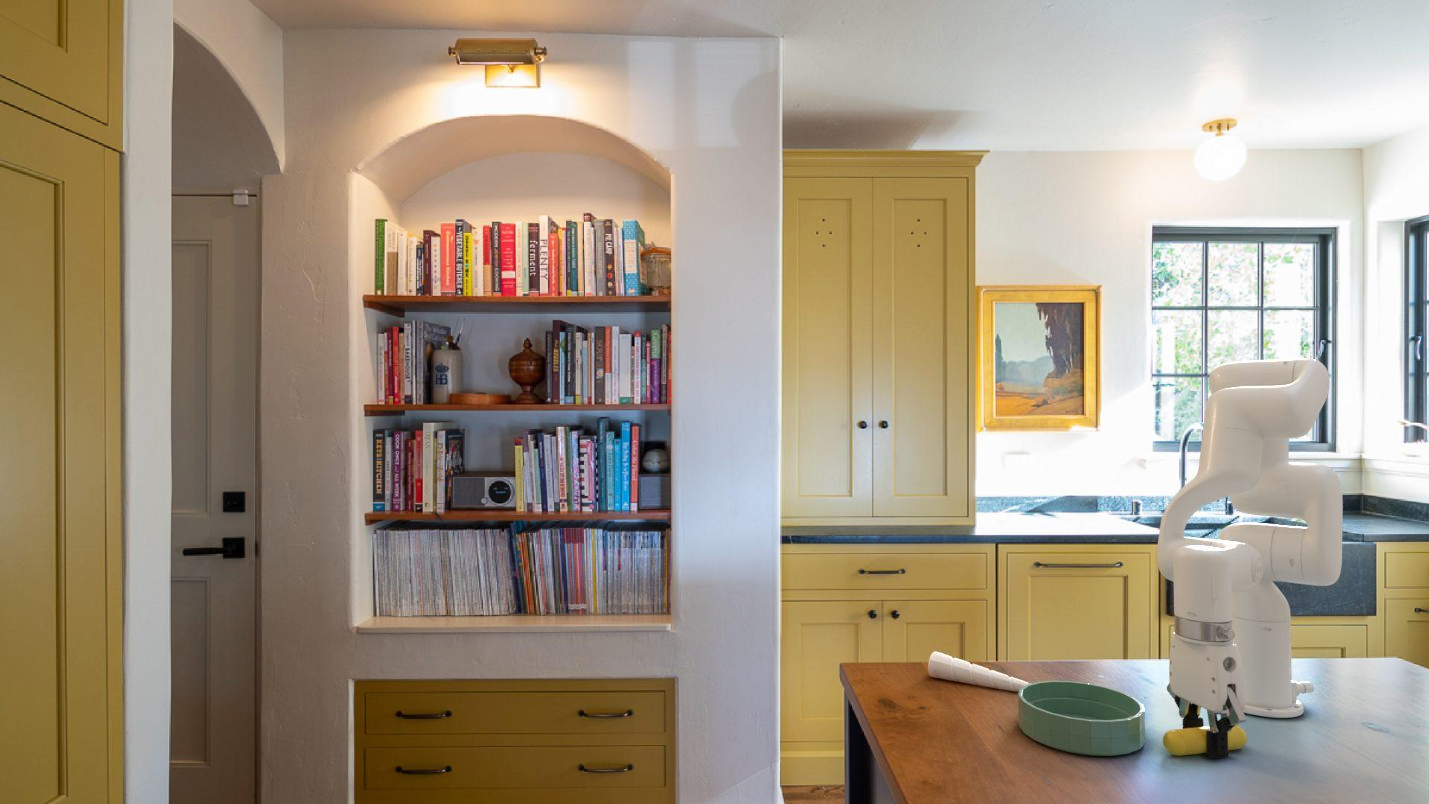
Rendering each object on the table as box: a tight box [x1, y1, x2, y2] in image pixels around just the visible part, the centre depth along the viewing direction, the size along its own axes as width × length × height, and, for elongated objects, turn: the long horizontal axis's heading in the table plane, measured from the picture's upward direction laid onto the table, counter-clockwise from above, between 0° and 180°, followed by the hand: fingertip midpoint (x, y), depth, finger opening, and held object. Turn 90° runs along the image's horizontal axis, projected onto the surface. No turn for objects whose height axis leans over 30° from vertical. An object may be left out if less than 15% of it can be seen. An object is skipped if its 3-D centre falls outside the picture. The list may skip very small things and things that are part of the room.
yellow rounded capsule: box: [1162, 724, 1248, 757], centre depth 122 cm, size 14×4×4 cm, turn 102°
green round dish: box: [1017, 680, 1146, 757], centre depth 129 cm, size 18×18×6 cm
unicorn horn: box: [927, 651, 1032, 693], centre depth 150 cm, size 5×24×5 cm, turn 52°
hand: (1205, 749), depth 122 cm, fingers open, 3 cm apart
